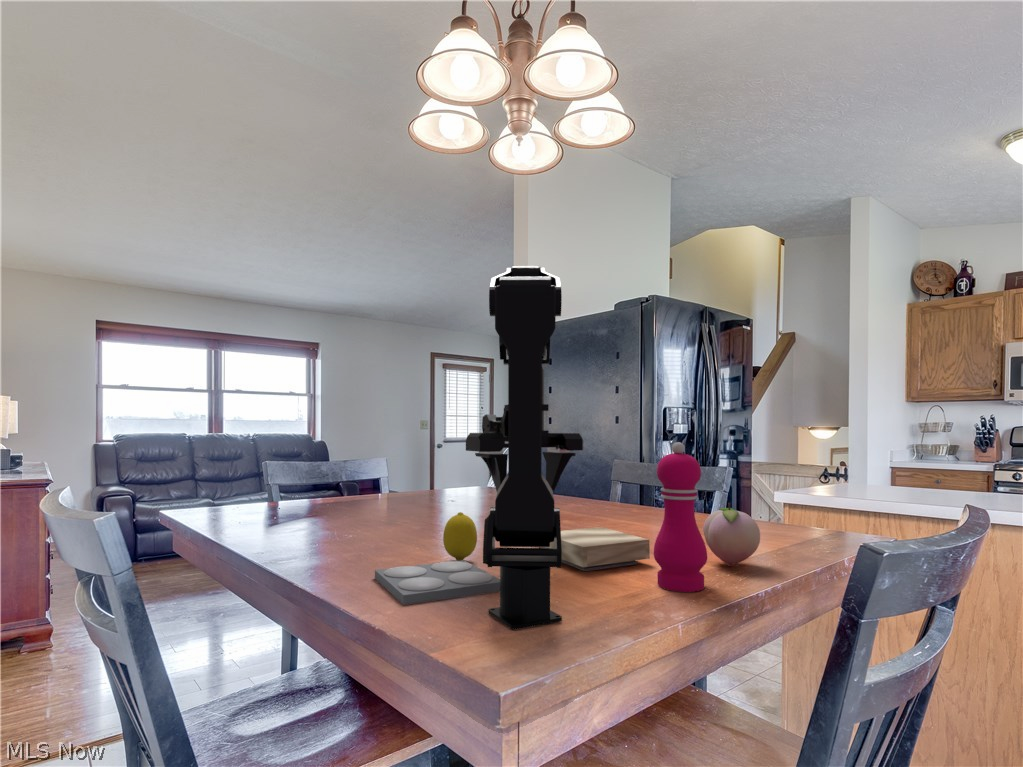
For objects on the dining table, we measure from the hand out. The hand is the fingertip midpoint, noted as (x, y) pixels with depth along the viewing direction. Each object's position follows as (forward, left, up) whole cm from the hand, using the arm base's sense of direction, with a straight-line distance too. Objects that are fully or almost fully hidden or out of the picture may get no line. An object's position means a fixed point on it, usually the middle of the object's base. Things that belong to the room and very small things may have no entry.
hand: (525, 497), depth 90 cm
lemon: (+9, +7, -11) cm, 16 cm away
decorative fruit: (-13, -31, -11) cm, 35 cm away
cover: (0, -13, -11) cm, 17 cm away
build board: (-2, +15, -11) cm, 19 cm away
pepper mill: (-18, -15, -11) cm, 26 cm away
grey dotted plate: (0, -13, -11) cm, 17 cm away
